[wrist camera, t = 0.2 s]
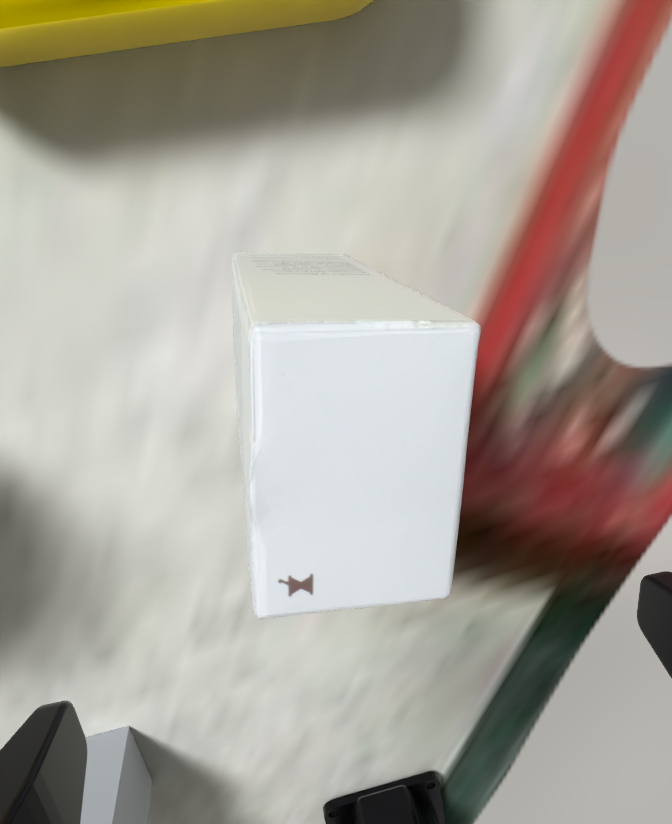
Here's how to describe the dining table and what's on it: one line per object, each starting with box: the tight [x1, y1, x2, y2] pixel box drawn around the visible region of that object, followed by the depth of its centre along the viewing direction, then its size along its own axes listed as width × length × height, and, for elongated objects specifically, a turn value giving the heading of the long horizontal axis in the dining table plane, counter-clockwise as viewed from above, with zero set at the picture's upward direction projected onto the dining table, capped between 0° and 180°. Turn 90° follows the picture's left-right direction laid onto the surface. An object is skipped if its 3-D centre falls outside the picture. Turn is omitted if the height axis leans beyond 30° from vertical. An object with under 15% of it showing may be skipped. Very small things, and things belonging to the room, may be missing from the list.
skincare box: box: [232, 252, 481, 619], centre depth 16 cm, size 6×4×12 cm
